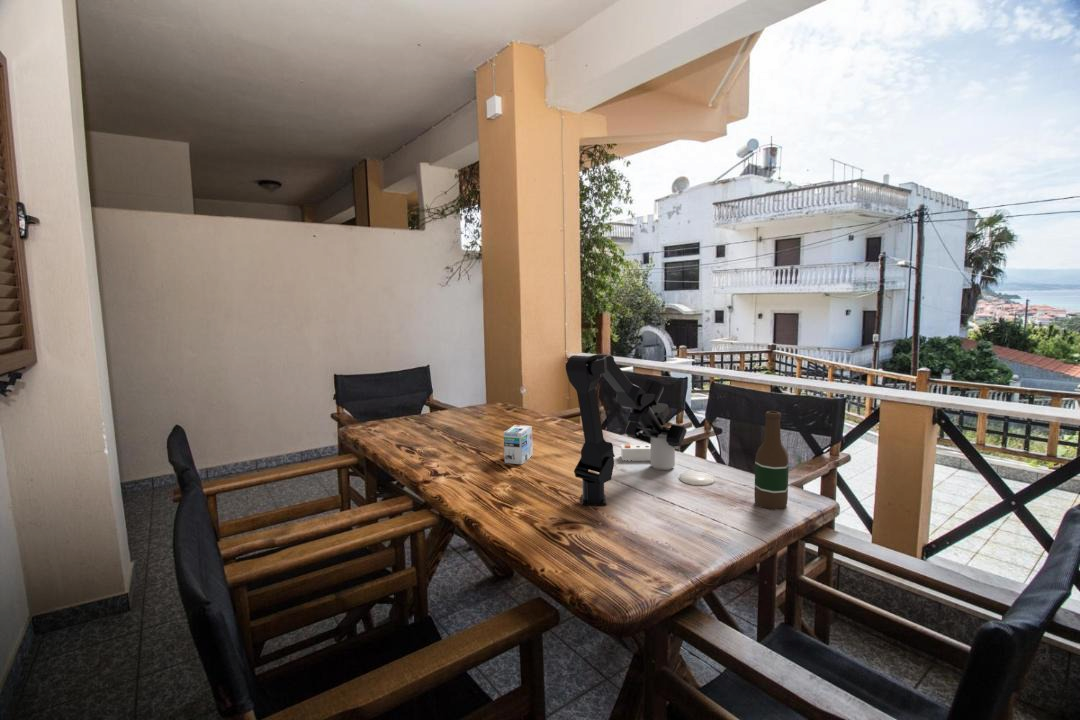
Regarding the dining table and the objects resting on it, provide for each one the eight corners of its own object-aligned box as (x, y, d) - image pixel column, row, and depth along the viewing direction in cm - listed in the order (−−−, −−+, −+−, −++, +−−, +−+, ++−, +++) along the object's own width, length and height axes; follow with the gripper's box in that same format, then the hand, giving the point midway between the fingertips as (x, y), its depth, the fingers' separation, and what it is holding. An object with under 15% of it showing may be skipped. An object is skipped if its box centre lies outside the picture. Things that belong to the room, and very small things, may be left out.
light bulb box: (522, 465, 160) (521, 433, 159) (503, 463, 163) (502, 432, 161) (533, 455, 171) (532, 425, 169) (515, 454, 173) (514, 424, 172)
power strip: (665, 460, 161) (665, 446, 160) (622, 460, 162) (622, 447, 161) (662, 455, 166) (662, 442, 165) (621, 456, 167) (620, 443, 166)
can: (672, 463, 158) (672, 427, 156) (676, 471, 150) (676, 433, 149) (649, 463, 158) (649, 427, 157) (652, 471, 151) (652, 433, 150)
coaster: (719, 485, 138) (719, 483, 138) (683, 485, 138) (683, 483, 138) (709, 473, 148) (709, 471, 147) (676, 473, 148) (676, 471, 148)
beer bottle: (784, 499, 127) (786, 409, 124) (790, 511, 119) (793, 416, 117) (752, 497, 129) (753, 408, 126) (756, 509, 121) (758, 414, 119)
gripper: (683, 399, 142) (700, 428, 152) (630, 393, 155) (648, 420, 164) (670, 431, 138) (688, 459, 147) (616, 421, 151) (636, 448, 160)
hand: (664, 445), depth 155 cm, fingers open, 9 cm apart
